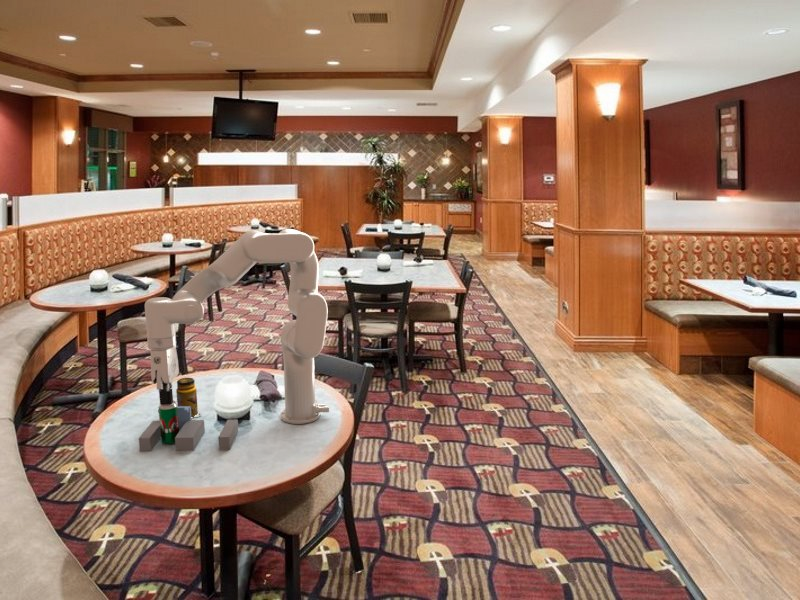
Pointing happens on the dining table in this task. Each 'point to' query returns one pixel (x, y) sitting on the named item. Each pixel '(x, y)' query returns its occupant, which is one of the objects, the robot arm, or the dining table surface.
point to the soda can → (168, 422)
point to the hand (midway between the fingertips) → (166, 402)
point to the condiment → (187, 394)
